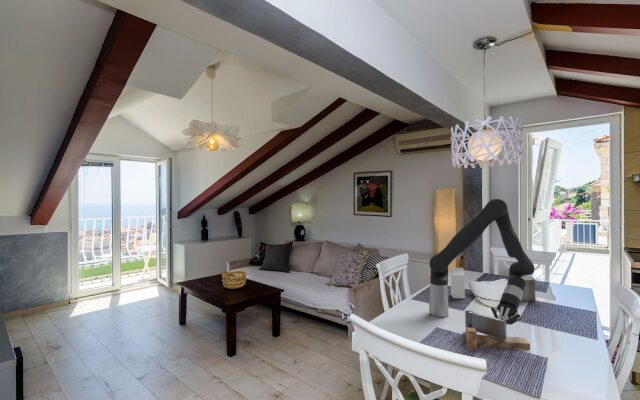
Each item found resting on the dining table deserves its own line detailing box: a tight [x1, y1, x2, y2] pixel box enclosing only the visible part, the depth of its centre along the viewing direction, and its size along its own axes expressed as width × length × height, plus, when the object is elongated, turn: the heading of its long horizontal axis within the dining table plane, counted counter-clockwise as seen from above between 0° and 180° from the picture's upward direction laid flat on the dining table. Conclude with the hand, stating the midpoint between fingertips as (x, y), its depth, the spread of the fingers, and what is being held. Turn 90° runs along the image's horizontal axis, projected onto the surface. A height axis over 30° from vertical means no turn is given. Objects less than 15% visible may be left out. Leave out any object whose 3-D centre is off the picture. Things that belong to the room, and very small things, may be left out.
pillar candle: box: [521, 275, 536, 302], centre depth 198 cm, size 10×10×15 cm
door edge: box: [462, 326, 531, 351], centre depth 140 cm, size 26×18×8 cm
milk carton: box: [450, 267, 466, 299], centre depth 205 cm, size 7×7×19 cm
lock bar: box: [464, 310, 508, 340], centre depth 142 cm, size 17×4×10 cm, turn 40°
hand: (499, 330), depth 139 cm, fingers closed
